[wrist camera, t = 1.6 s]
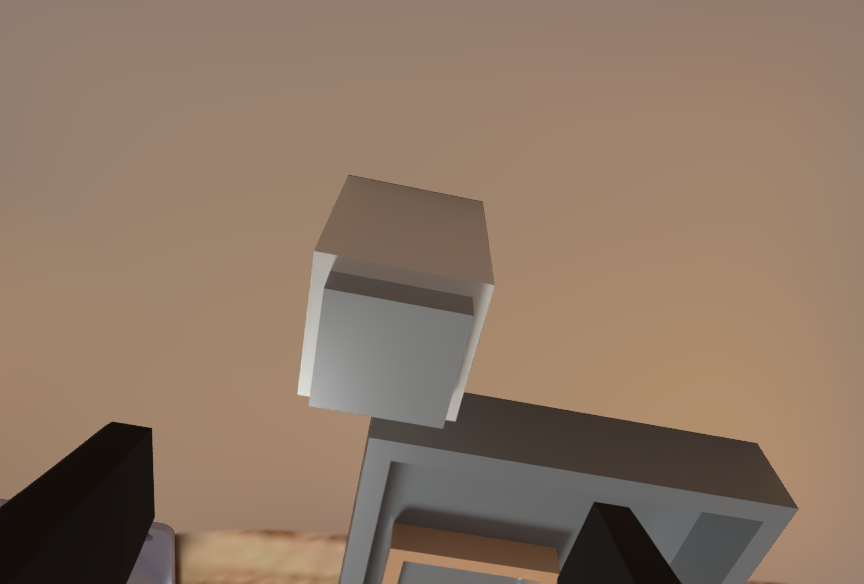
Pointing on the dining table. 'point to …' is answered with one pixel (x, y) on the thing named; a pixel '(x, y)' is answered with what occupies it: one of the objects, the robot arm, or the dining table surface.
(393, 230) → the plug block
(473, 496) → the walled box
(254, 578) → the dining table surface
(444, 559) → the inlet socket
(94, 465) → the robot arm
